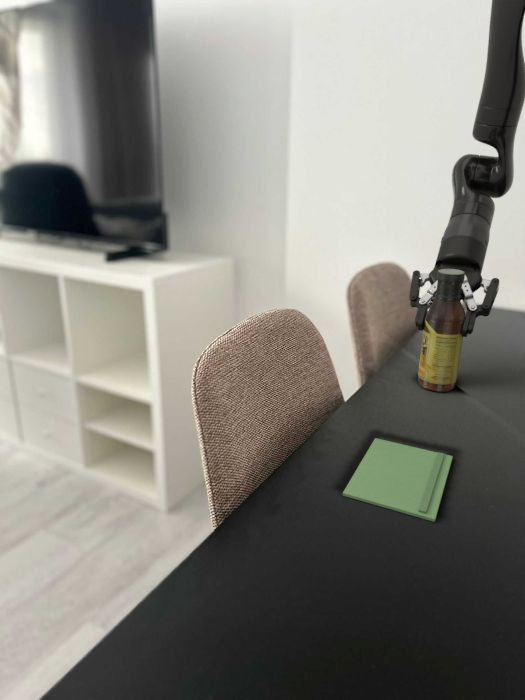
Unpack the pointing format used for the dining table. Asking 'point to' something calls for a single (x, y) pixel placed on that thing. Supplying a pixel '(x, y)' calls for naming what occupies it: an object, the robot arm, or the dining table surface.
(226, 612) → the dining table surface
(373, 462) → the green notebook
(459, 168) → the robot arm
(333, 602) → the dining table surface
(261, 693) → the dining table surface
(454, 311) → the sauce bottle
